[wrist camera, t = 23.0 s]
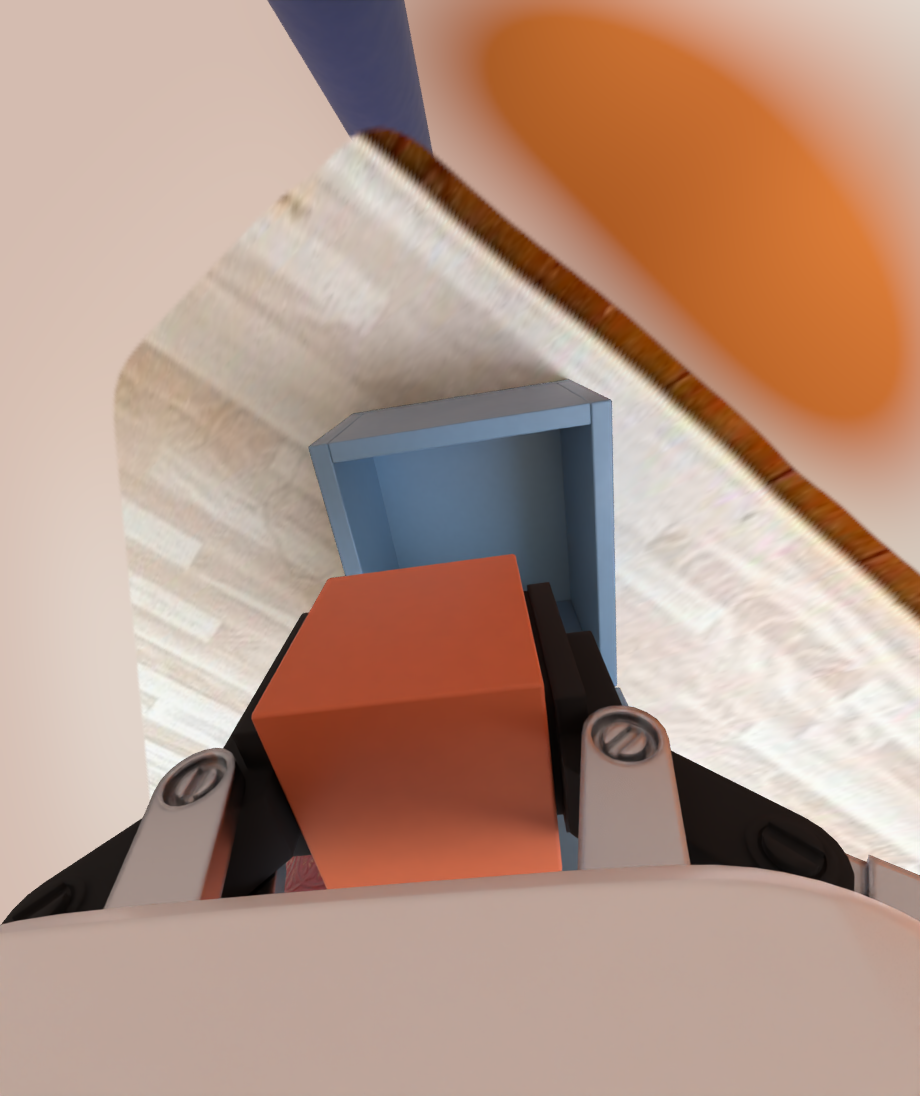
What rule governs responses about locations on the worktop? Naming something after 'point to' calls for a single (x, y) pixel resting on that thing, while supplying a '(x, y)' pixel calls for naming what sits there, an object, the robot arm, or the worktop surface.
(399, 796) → the orange cube
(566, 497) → the blue hinged box
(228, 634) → the worktop surface
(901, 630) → the worktop surface
